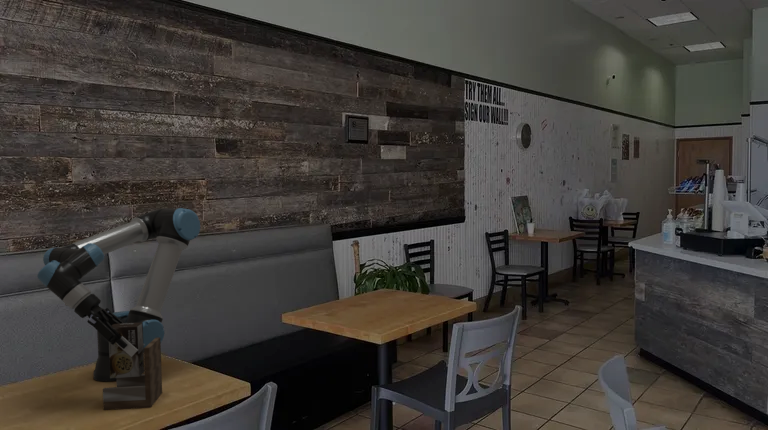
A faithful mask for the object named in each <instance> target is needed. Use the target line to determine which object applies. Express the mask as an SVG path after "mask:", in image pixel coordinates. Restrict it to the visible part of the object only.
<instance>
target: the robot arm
mask: <svg viewBox="0 0 768 430" xmlns="http://www.w3.org/2000/svg"><path fill="white" fill-rule="evenodd" d="M200 231H201V221H200V219H199V216H198V214H197V213H196V212H195V211H193V210H192V209H189V208H184V207H178V208H158V209H154V210H152V211H148V212H146V213H144V214H142V215H138V216H136V217H134V218H132V219H131V220H130V222H128V223H124V224H121V225H118V226H117V227H114V228H111V229H108V230H105V231H103V232H100V233H97V234H94V235H92V236H89V237H86V238H84V239H81V240H78V241H75V242H73V243H70V244H67V245H64V246H62V247H57V246H56V247H51V248H49V249H47V251H45V253H43V254H44V255H43V257H42V258H43V259H42V262H43V264H44V266H43V267H42V268H41V269H40V270H39V271H38V272H37V276H36V277H37V279H38V280H39V281H40V282H41V284H42V285H44V287H45V288H47V289H48V290H49V291H51V292H52V293H53V294H54V295H55V296H56V297H57V298H59V299H60V300H61V301H62V302H64V306H67V307H69V308H70V309H71V310H74V313H75V314H76V315H78V316H79V317H80V318H81V319H84V318H86V317H88V318H89V319H88V320H87V323H88V324H89V325H90V326H92V327H93V328H94V329H95V330H96V332H97V333H96V334H97V336H96V337H97V359H96V363H95V366H94V369H93V380H95V381H98V382H116V378H110V358H109V342H110V343H111V344H112V345H114V344H115V343H116V344H117V345H118V346H119V347H121V348H122V349H123V350H124V351H125V352H126V353H127V354H129V355H130V356H131V357H132V356H133V355H134V354H135V353H136V352H137V351H138V349H136V348H135V347H134V346H133V345H132V344H131V343H130V342H129V341H127V340H126V339H125V338H124V337H123V336H122V337H121V336H120V335H119V334H118V333H117V332H116V330H114V329H113V327H112V325H113V324H118V323H140V322H143V346H144V348H145V347H146V346H147V345H148V344H149V343H150V342H151V341H152V340H154V339H155V338H158V337H160V342H161V343H162V342H163V340H164V336H165V329H164V325H163V320H164V317H163V315H162V308H163V306H164V303H165V301H166V297H167V294H168V292H169V290H170V286H171V282H172V280H173V277H174V274H175V271H176V268H177V265H178V263H179V259H180V257H181V254H182V251H184V250H186V249H188V248H189V245H190V242H191V241H192V240H194V239H195V238H198V236H199V234H200V233H201V232H200ZM149 240H156V241H157V242H158V244H157V247H156V251H155V253H154V256H153V259H152V261H151V265H150V267H149V269H148V272H147V275H146V277H145V280H144V284H143V286H142V289H141V291H140V294H139V297H138V300H137V303H136V305H135V306H133V307H132V308H130V309H129V310H122V311H116V312H112V311H111V310H110V309H109V308H108V307H106V308H105V309H104V308H102V307H101V306H100V304H101V302H102V301H101V299H100V297H98V296H97V295H96V294H95V293H92V291H91V290H90V289H89V288H88V286H86V285H85V284H83V282H81V281H80V280H81V279H82V278H83V277H85V276H86V275H88V274H89V273H90V272H91V271H93V270H94V269H95V268H97V267H98V266H99V265H100V264H101V263H102V262H103V261H104V260H105V255H107V254H109V253H111V252H115V251H116V250H119V249H122V248H124V247H126V246H129V245H132V244H134V243H137V242H141V243H144V242H146V241H149ZM120 337H121V338H120Z"/></svg>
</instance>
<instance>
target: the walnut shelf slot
mask: <svg viewBox="0 0 768 430" xmlns="http://www.w3.org/2000/svg"><path fill="white" fill-rule="evenodd" d="M161 344H162V342H160V337H158V338H155V339H154V340H152V341H151V342H150V343H149V344H148V345H147V346H146V347H145V348H144V373H143V374H142V375H141V376H139V377H124V378H116V381H115V382H116V386H115V387H114V386H113V387H103V388H102V404H103V406H102V410H103V411H110V410H109V409H114V410H127V409H129V410H130V409H131V408H132V409H146V408H147V409H148V408H152V407H153V405H154V404H155V403H156V402H157V400H158V399H159V397H160V396H161V395H162V394H163V383H162V382H163V381H162V375H163V373H162V351H161V350H162V347H161Z"/></svg>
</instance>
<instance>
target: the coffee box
mask: <svg viewBox="0 0 768 430" xmlns="http://www.w3.org/2000/svg"><path fill="white" fill-rule="evenodd" d="M112 327H113V329H114V330H116V332H117V333H118V334H119V335H120V336H121V337H122V336H123V337H124V338H125V339H126V340H127V341H129V342H130V343H131V344H132V345H133V346H134V347H135V348H136V349H138V351H137V352H136V353H135V354H134V355H133V356H132V357H131V356H130V355H129V354H127V353H126V352H125V351H124V350H123V349H122V348H121V347H119V346H118V345H117V344H116V343H115V344H114V345H112V344H111V343H110V342H109V358H110V378H124V377H139V376H141V375H142V374H145V369H144V346H143V322H140V323H118V324H113V325H112ZM121 337H120V338H121Z"/></svg>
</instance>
